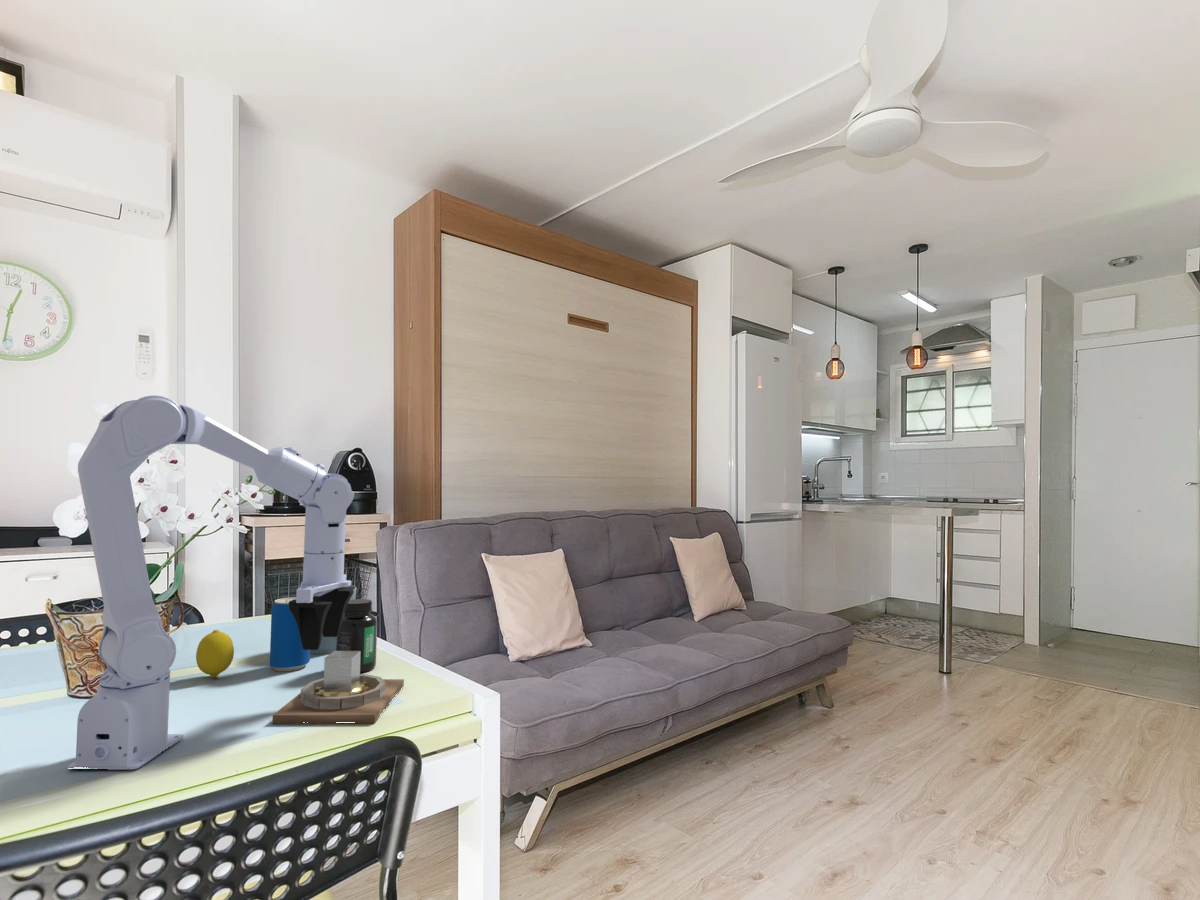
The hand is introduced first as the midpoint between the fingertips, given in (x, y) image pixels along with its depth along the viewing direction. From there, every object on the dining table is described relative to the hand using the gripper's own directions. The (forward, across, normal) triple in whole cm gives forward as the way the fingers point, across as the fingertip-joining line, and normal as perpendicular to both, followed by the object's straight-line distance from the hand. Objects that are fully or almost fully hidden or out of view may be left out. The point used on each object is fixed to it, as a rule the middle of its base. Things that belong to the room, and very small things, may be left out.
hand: (321, 642), depth 99 cm
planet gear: (+8, 0, -3) cm, 9 cm away
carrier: (+9, 0, -4) cm, 10 cm away
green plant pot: (+9, +32, +11) cm, 35 cm away
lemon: (+10, +13, +23) cm, 28 cm away
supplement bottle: (+9, +18, +1) cm, 21 cm away
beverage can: (+10, +19, +13) cm, 25 cm away
